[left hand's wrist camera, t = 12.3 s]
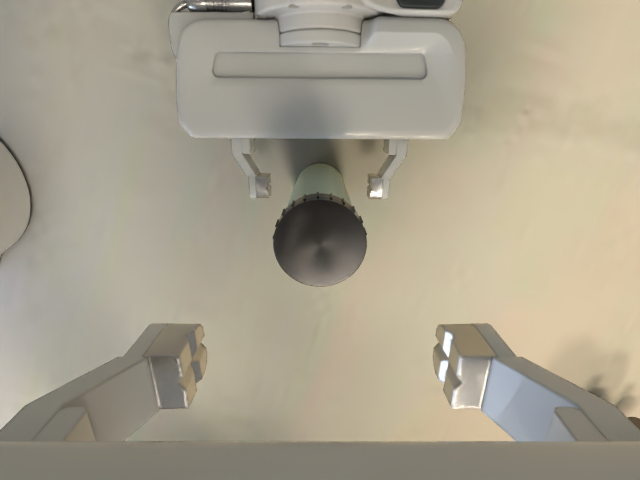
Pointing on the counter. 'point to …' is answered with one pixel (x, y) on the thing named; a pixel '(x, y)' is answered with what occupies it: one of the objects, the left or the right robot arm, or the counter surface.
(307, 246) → the lid
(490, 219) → the counter surface
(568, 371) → the counter surface
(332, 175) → the jar
